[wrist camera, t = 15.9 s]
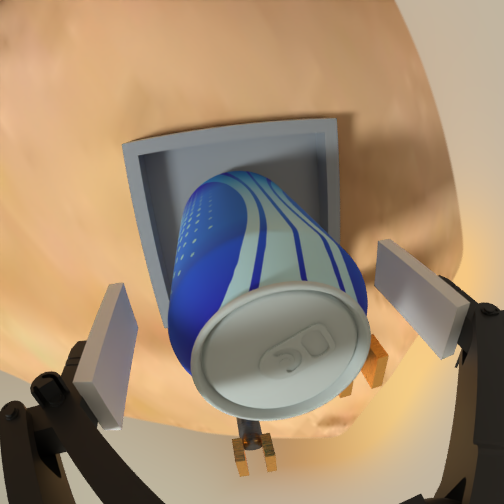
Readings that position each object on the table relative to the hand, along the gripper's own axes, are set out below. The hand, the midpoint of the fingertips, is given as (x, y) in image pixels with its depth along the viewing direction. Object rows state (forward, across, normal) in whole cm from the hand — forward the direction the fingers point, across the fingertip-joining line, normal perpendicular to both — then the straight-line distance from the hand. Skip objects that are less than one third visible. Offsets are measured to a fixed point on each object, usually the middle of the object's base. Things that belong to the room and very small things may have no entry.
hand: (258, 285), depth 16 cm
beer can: (+11, 0, 0) cm, 11 cm away
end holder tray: (+11, 0, 0) cm, 11 cm away
